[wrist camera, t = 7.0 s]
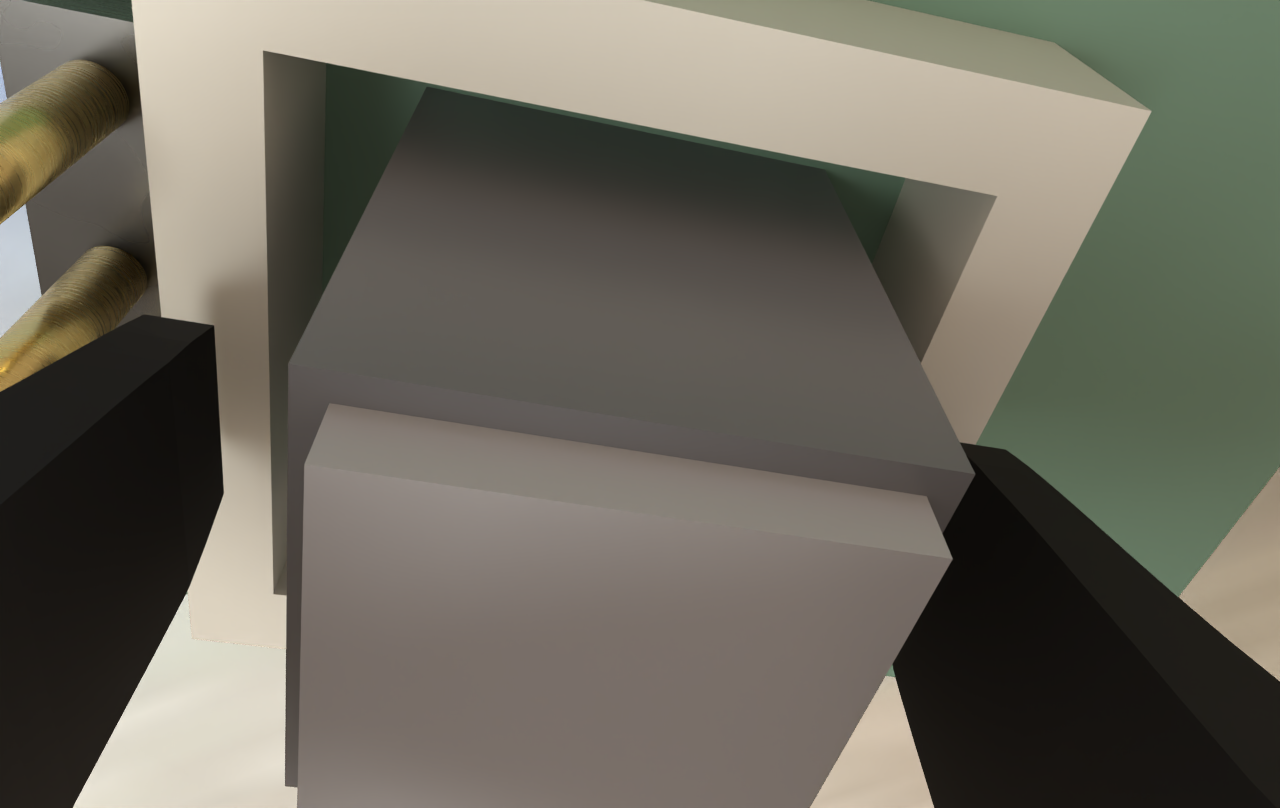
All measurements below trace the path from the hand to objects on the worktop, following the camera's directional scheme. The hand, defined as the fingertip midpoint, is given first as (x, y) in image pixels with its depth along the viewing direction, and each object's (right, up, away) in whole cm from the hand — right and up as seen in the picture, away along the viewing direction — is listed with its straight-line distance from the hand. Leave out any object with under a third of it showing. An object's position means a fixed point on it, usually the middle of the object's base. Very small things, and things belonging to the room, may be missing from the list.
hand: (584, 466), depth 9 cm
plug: (0, +2, +2) cm, 3 cm away
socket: (0, +2, +2) cm, 3 cm away
